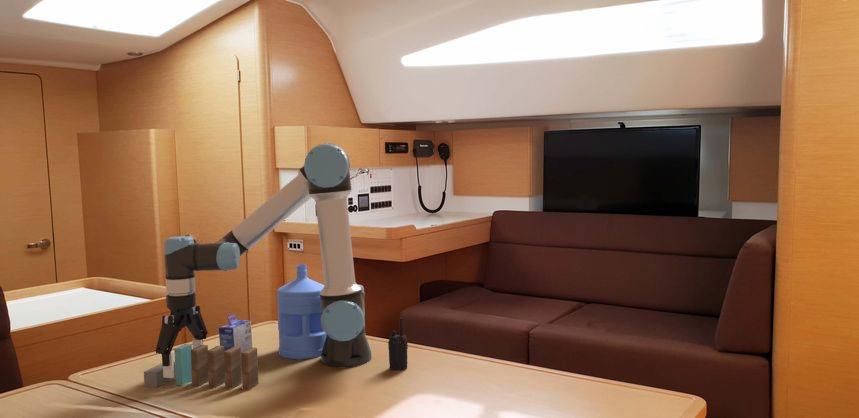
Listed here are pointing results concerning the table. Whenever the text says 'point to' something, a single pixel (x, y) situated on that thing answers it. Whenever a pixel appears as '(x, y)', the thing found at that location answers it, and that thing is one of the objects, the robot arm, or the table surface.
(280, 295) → the water jug
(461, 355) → the table surface
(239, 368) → the domino
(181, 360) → the teal domino
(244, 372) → the domino
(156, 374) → the block
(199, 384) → the domino
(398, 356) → the two-way radio
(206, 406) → the table surface
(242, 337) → the ink cartridge box
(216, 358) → the domino
